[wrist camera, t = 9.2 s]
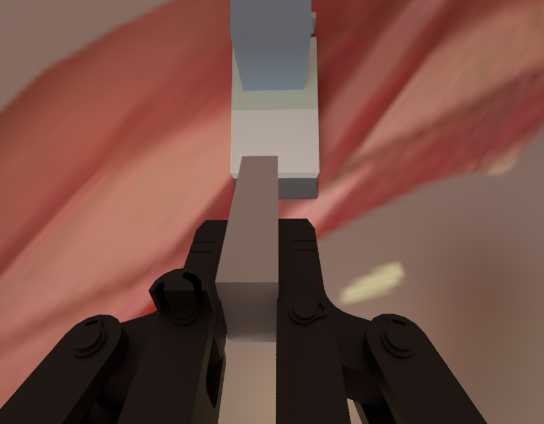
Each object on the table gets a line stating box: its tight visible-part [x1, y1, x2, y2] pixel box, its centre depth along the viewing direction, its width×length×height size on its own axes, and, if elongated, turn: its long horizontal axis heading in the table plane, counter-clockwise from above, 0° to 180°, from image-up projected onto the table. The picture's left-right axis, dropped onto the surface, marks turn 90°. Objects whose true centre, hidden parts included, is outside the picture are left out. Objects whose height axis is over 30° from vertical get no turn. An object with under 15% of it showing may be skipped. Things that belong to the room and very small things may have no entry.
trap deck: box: [230, 12, 319, 199], centre depth 34 cm, size 10×22×3 cm, turn 0°
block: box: [230, 0, 312, 91], centre depth 29 cm, size 7×6×9 cm
